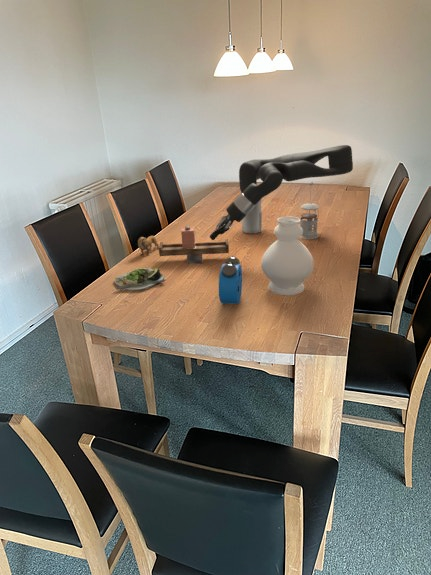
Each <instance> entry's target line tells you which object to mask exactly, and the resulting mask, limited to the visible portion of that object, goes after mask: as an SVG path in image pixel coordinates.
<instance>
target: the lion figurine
mask: <svg viewBox="0 0 431 575" xmlns="http://www.w3.org/2000/svg"><path fill="white" fill-rule="evenodd" d="M152 243H153V244H154V247H156V250H159V245H160V244H159V243H158V242H157V238H156V237H155V236H154V235H150V236H148V237H144V236H140V237H139V238H138V240H137V247H138V249H139V250H140V252H141V253H140V256H144V255H145V252H144V251H146V256H147V257H148V256H150V251H151V249H152V247H153V246H152Z"/></svg>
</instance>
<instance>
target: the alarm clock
mask: <svg viewBox="0 0 431 575" xmlns="http://www.w3.org/2000/svg"><path fill="white" fill-rule="evenodd" d="M242 290H243V269H242V265H241V261H240V260H239V258H238V257H236V256H233V255H232V256H229V257H227V258H226V259H225V261H224V263H222V265H221V267H220V270H219V274H218V299H219V302H220V304H222V307H225V304H229V305H239V304H240V301H241V298H242Z"/></svg>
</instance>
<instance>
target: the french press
mask: <svg viewBox="0 0 431 575" xmlns="http://www.w3.org/2000/svg"><path fill="white" fill-rule="evenodd" d="M308 185H309V186H313V185H314V182H313V181H309V183H308ZM311 192H312V189H310V192H309V199H311V195H312V193H311ZM300 208H301V209H302V210H305V211H308V213H307V212H306V213H302V214H301V215H300V216H301V217H300V218H299V219H300V223H299V226H300V227H301V228H302V230H303V233H302V235H301V236H300V238H301V239H302V238H303V239H305V240H315V239H317V237H318V238H319V234H318V219H319V217H318V216H319V208H320V206H319V205H318V204H317V203H315V202H314V203H311V202H307V203H303V204H302V205H301V206H300ZM311 211H312V212H314V213H310V212H311ZM316 211H317V214H316ZM300 238H299V239H300ZM314 238H315V239H314Z"/></svg>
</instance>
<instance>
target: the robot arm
mask: <svg viewBox="0 0 431 575" xmlns="http://www.w3.org/2000/svg"><path fill="white" fill-rule="evenodd" d="M324 158H328V159H327V160H328V168H326V167H321V166H319V165H316V164H317V163H318V162H319V161H321V160H322V159H324ZM353 161H354V160H353V150H352V146H350V145H348V144H346V145H345V144H344V145H343V144H342V145H341V144H340V145H336V146H332V147H327V148H322V149H318V150H313V151H311V150H310V151H305V152H304V151H303V152H297V153H296V152H295V153H290V154H285V155H281V156H277V157H274V158H266V159H251V160H247V161H245V162H243V163H242V164H240V166H239V170H238V178H239V181H238V182H239V190H240V192H241V193H240V194H239V195H238V196H237V197H236V198H235V199H233V201H232V202H231V203H230V204H229V205H228V206H227V207H226V212H227V214H226V215H223V216H222V217H221V219H220V221H219V222H218V223H217V225H216V227H215V229H214V231H212V232H211V234H210V235H209V239H210V240H211V241H215V239H217V237H218V236H219V235H221V236H222V235H224V233H226V232H228V231H229V230H230V227H232V226H233V225H234V222H235V221H236V222H237V223H241V231H242V232H243V233H245V234H257V233H262V227H263V224H262V223H263V222H262V221H263V220H262V218H263V216H262V199H263V198H264V197H267V195H270V194H271V193H272V192H275V191H276V190H277V189H278V188H279V187H280V186H281V185H282V183H283V180H284V181H286V182H293V181H298V180H303V179H311V178H325V177H334V176H340V175H341V176H342V175H347V174H349V173H351V172H352V171H353V170H354V169H353V168H354V165H353V164H354V162H353ZM259 179H260V180H261V181H262V182H261V183H259V184H258V180H259Z"/></svg>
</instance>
